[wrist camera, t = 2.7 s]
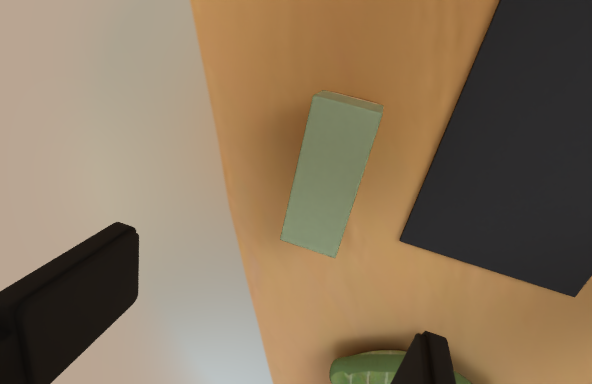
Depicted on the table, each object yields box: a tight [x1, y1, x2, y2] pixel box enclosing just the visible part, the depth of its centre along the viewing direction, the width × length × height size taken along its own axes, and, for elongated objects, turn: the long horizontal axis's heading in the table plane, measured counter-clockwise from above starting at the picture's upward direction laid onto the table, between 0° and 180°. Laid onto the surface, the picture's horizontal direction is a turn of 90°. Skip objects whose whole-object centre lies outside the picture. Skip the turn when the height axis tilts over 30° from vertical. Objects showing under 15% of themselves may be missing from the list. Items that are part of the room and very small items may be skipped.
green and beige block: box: [280, 90, 383, 258], centre depth 23 cm, size 10×4×6 cm, turn 168°
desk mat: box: [400, 0, 592, 297], centre depth 21 cm, size 20×13×1 cm, turn 168°
